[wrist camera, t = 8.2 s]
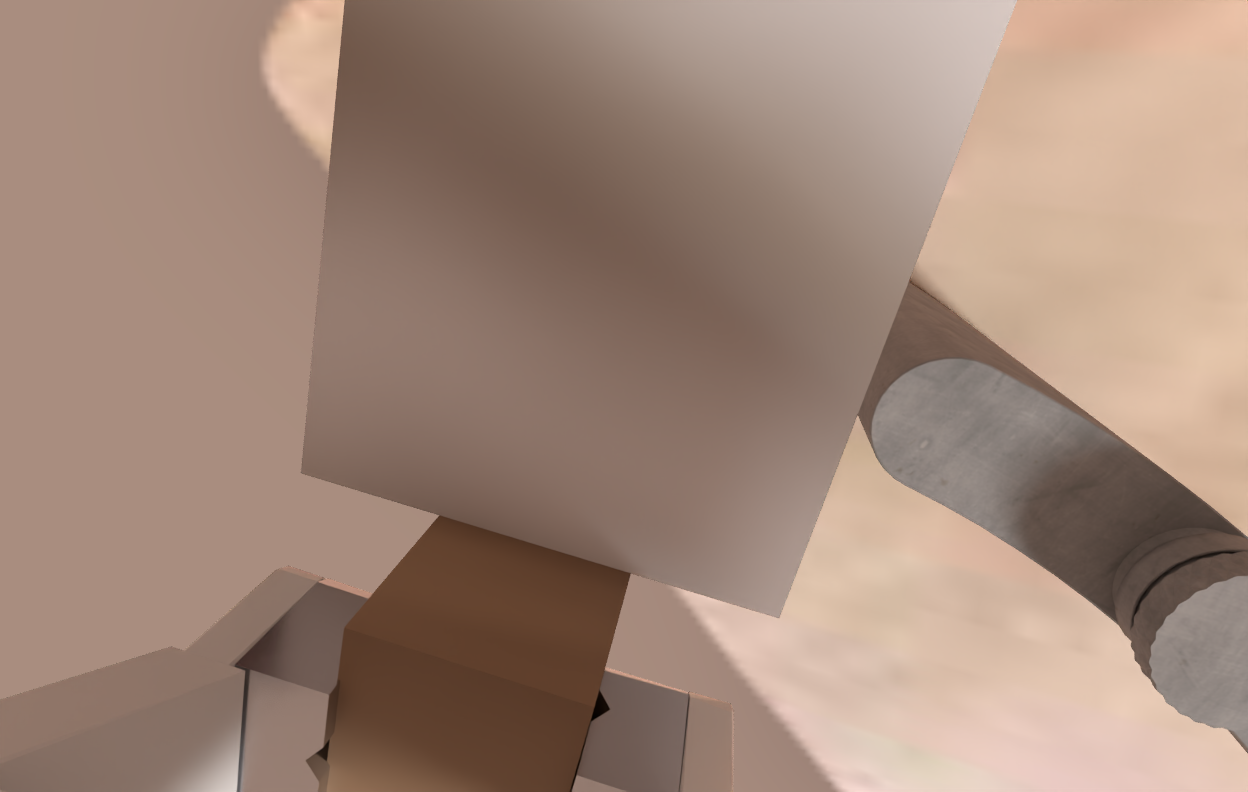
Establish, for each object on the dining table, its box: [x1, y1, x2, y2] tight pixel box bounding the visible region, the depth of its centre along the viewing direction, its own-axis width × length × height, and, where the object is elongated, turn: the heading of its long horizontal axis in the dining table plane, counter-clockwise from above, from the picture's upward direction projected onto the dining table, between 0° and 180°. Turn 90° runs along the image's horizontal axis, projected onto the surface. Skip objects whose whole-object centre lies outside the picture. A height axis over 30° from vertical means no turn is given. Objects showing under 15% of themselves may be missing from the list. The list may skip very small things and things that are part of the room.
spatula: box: [301, 0, 1017, 792], centre depth 8 cm, size 18×6×3 cm, turn 166°
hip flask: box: [858, 282, 1248, 753], centre depth 23 cm, size 16×4×20 cm, turn 52°
